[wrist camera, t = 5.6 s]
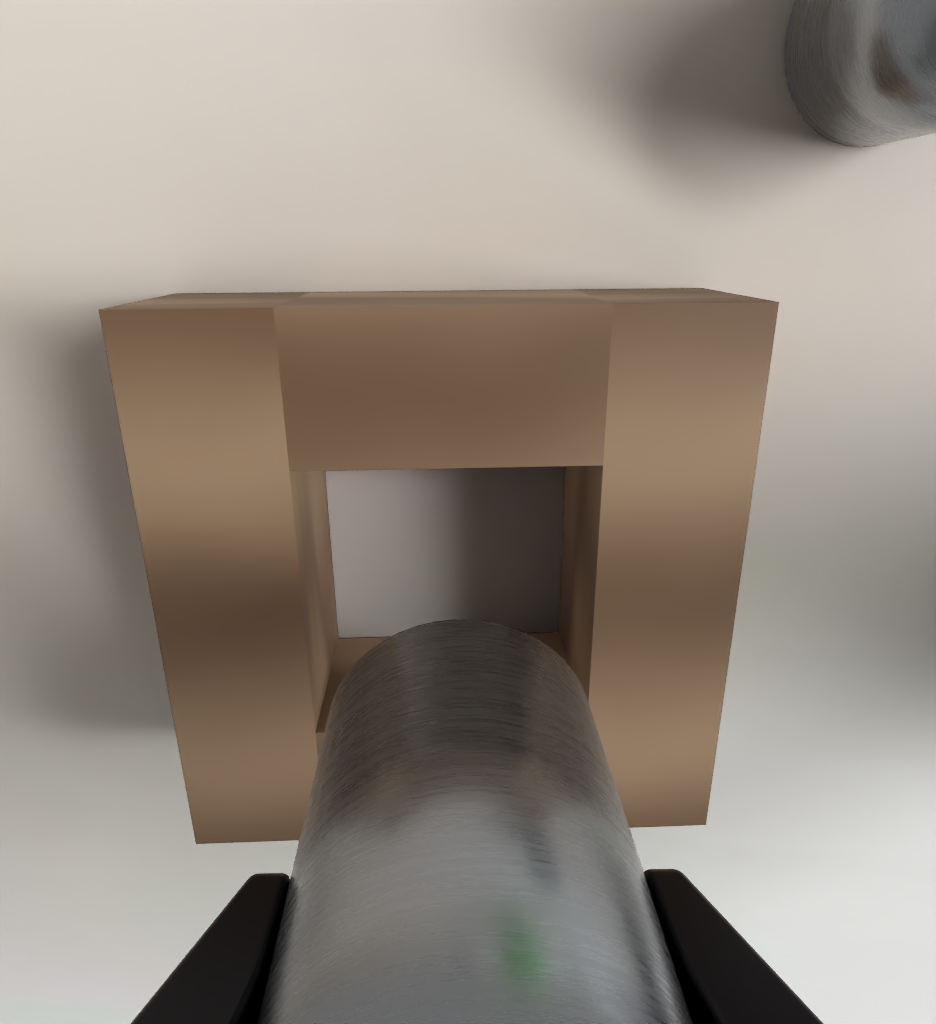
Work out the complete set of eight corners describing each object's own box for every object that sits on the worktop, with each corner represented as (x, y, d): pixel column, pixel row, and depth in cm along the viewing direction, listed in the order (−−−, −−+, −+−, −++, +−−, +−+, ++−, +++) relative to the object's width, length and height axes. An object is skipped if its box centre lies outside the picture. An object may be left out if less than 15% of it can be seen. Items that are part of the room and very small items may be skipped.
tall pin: (630, 781, 11) (998, 1832, 4) (402, 871, 12) (341, 1960, 4) (527, 576, 10) (791, 1576, 3) (276, 686, 10) (-124, 1795, 3)
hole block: (657, 720, 21) (705, 824, 17) (239, 733, 20) (195, 843, 17) (701, 288, 17) (778, 302, 13) (176, 293, 16) (98, 309, 13)
